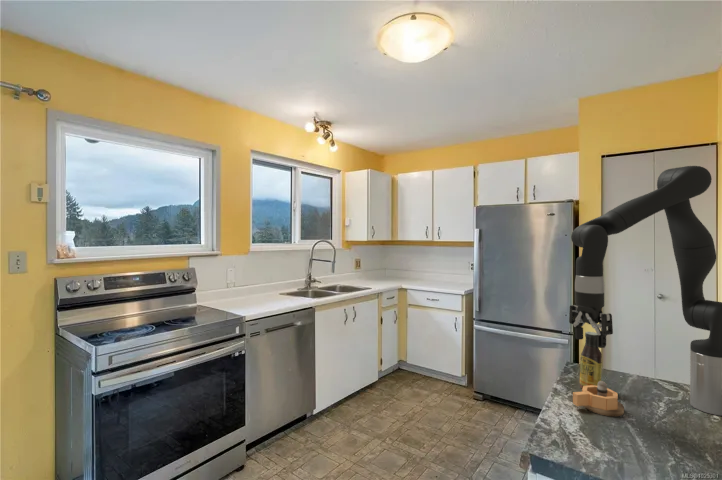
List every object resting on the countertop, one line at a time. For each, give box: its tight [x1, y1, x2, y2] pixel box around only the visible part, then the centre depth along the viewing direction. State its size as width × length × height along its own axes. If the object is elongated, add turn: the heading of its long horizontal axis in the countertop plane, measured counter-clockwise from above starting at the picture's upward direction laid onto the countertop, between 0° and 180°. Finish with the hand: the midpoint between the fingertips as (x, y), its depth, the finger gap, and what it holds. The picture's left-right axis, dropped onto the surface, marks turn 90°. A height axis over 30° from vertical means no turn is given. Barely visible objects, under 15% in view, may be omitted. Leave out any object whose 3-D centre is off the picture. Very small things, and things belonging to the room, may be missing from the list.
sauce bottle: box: [579, 331, 603, 390], centre depth 122 cm, size 7×6×20 cm
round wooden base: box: [582, 380, 625, 417], centre depth 109 cm, size 11×11×8 cm
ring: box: [572, 385, 619, 410], centre depth 109 cm, size 13×9×4 cm
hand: (589, 343), depth 108 cm, fingers open, 8 cm apart
